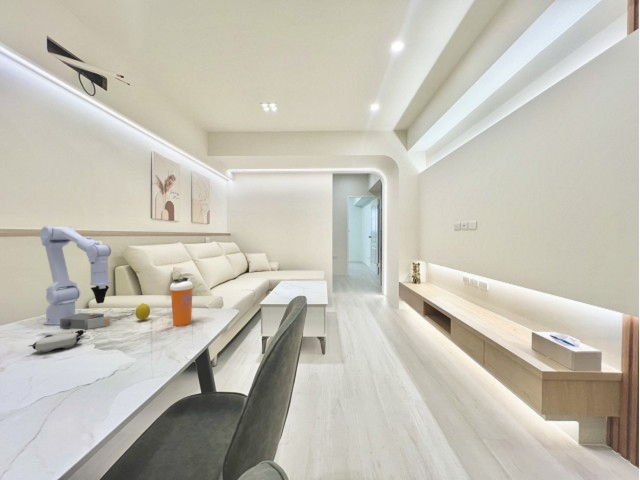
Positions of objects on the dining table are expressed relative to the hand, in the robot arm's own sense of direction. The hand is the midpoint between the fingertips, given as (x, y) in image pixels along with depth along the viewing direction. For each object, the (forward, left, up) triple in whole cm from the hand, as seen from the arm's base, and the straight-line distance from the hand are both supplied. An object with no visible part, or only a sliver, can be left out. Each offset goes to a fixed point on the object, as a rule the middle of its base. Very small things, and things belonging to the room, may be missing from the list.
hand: (100, 302), depth 109 cm
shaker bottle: (+35, +6, -10) cm, 37 cm away
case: (-8, 0, -10) cm, 13 cm away
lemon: (+14, +8, -10) cm, 19 cm away
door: (+1, -2, -10) cm, 10 cm away
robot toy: (+6, -19, -10) cm, 23 cm away
